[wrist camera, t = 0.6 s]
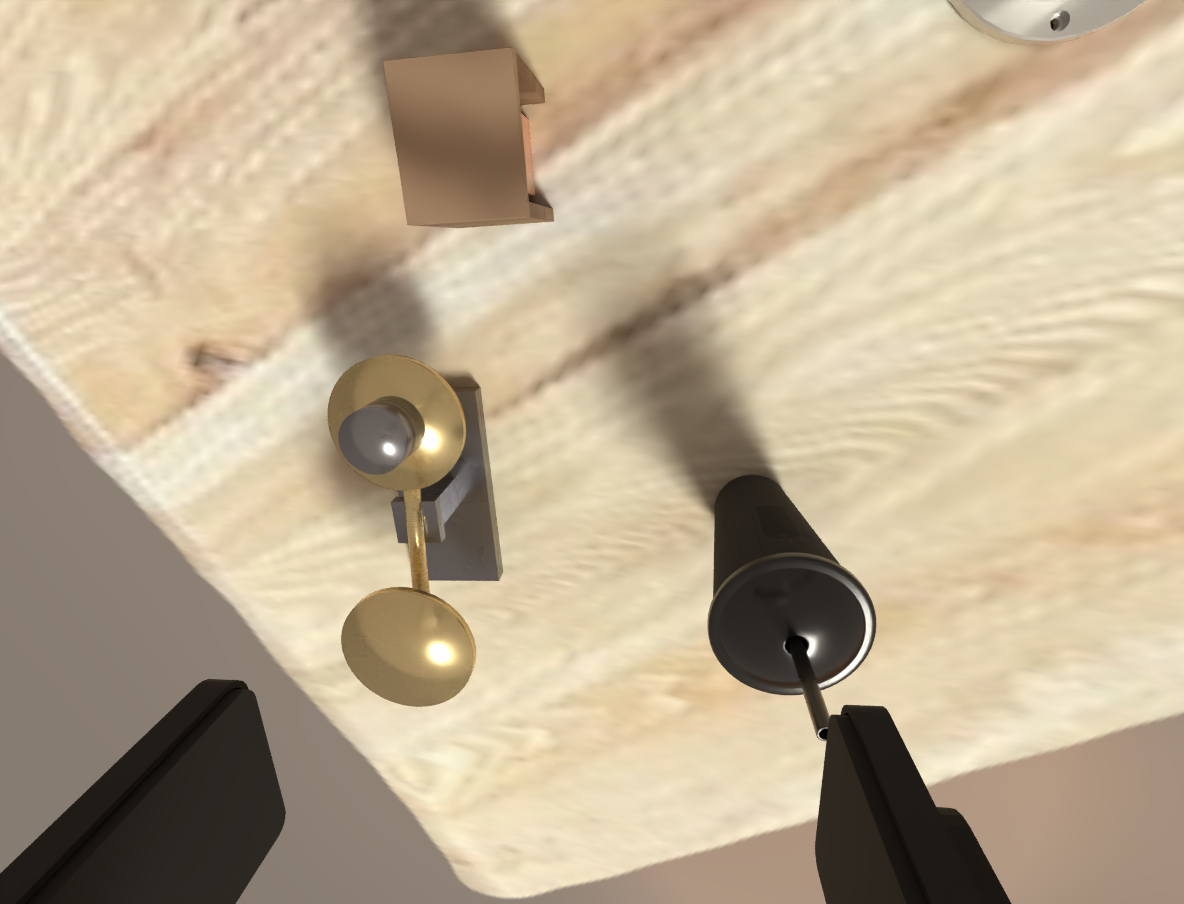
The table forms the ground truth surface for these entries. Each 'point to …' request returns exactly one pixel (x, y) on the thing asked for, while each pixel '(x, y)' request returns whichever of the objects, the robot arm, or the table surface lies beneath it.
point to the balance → (418, 522)
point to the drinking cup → (783, 599)
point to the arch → (463, 138)
